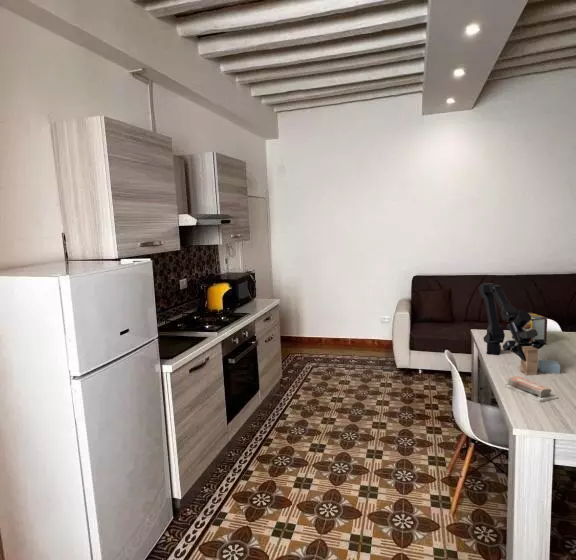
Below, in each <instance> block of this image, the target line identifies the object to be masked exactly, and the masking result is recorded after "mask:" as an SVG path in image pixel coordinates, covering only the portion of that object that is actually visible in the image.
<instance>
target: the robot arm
mask: <svg viewBox="0 0 576 560" xmlns="http://www.w3.org/2000/svg"><path fill="white" fill-rule="evenodd" d="M478 292H479V294H480V296H481V297H482V298H483V300H484V303H485V308H486V311H485V312H486V315H487V323H488V326H487V328H486V334H485V335H484V336H483V341H484V343H486V352H485V353H486V355H487V354H488V355H495V356H499V355H500V354H501V353H502V349H503V351H504V352H505V351H506V352H507V351H510V352H511V353H514V355H516V356H518V358H520V360H521V359H522V360H524V361H526V358H525V356H524V353H523V351H522V347H524V346H532V347H534V348H536V349H538V350H541V349H542V348H543V347H544V346H545V345H546V344H547V342H545V340H544V339H535V340H534V341H533V342H529V341H531V340H532V339H531V338H535V336H538V333H537V331H536V329H533V330H530V331H524V329H523V327H525V326H526V325H527V323H528V322H529V321H530V320H531V316H530V315H529V314H528V313H529V312H527V311H525V310H524V309H519V310H518V309H517V308H516V307H515V306H513V305H511V303H510V301H509V300H508V298H507V297H506V295H505V293H504V291H503V288H502V286H501V285H500V284H499V285H498V284H494V283H492V282H491V283H489V282H488V283H481V284H480V285H479V286H478ZM495 301H496V302H495ZM496 304H498V306H499V308H500V316H501V319H502V321H503V322H505V323H506V322H509V323H508V324H507V326H506V329H507V330H509V331H510V333H511V334H512V336H511V338H512V340H506V341H505V342H504V340H505V338H506V337H505V336H506V334H505V330H504V327H503V326H501V325H500V324H499V319H498V318H499V317H498V313H497V305H496ZM513 339H514V340H515V341H514V340H513ZM501 344H503V345H501Z"/></svg>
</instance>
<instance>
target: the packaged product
mask: <svg viewBox="0 0 576 560" xmlns="http://www.w3.org/2000/svg"><path fill="white" fill-rule="evenodd" d="M507 382H508V383H507V384H505V386H504V388H506V389H508V390H511V391H512V392H514V393H515V392H516V393H518V394H519V393H520V395H521V394H522V396H524V397H526V398H529V399H531V400H533V401H536V402H537V403H543V402H547V401H551V400H556V398H557V399H558V395H554V394H552V393H551V392H552V389H550V388H549V387H547V386H543V385H541V384H539V383H537V382H534V381H531V380H529V379H527V378H524V377H521V376H519V375H517V376H513V377H508V380H507Z"/></svg>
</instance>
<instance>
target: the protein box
mask: <svg viewBox="0 0 576 560" xmlns="http://www.w3.org/2000/svg"><path fill="white" fill-rule="evenodd" d="M527 313H528V314H529V315H530V316H531V321H532V322H533V327H532V330H533V329H536V331H537V333H538V336H535V338H532V342H533V341H534V340H535V339H544V340H545V342H546V343H547V337H548V335H547V334H548V317H545V316H542V315H539V314H537V313H533V312H527Z"/></svg>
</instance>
